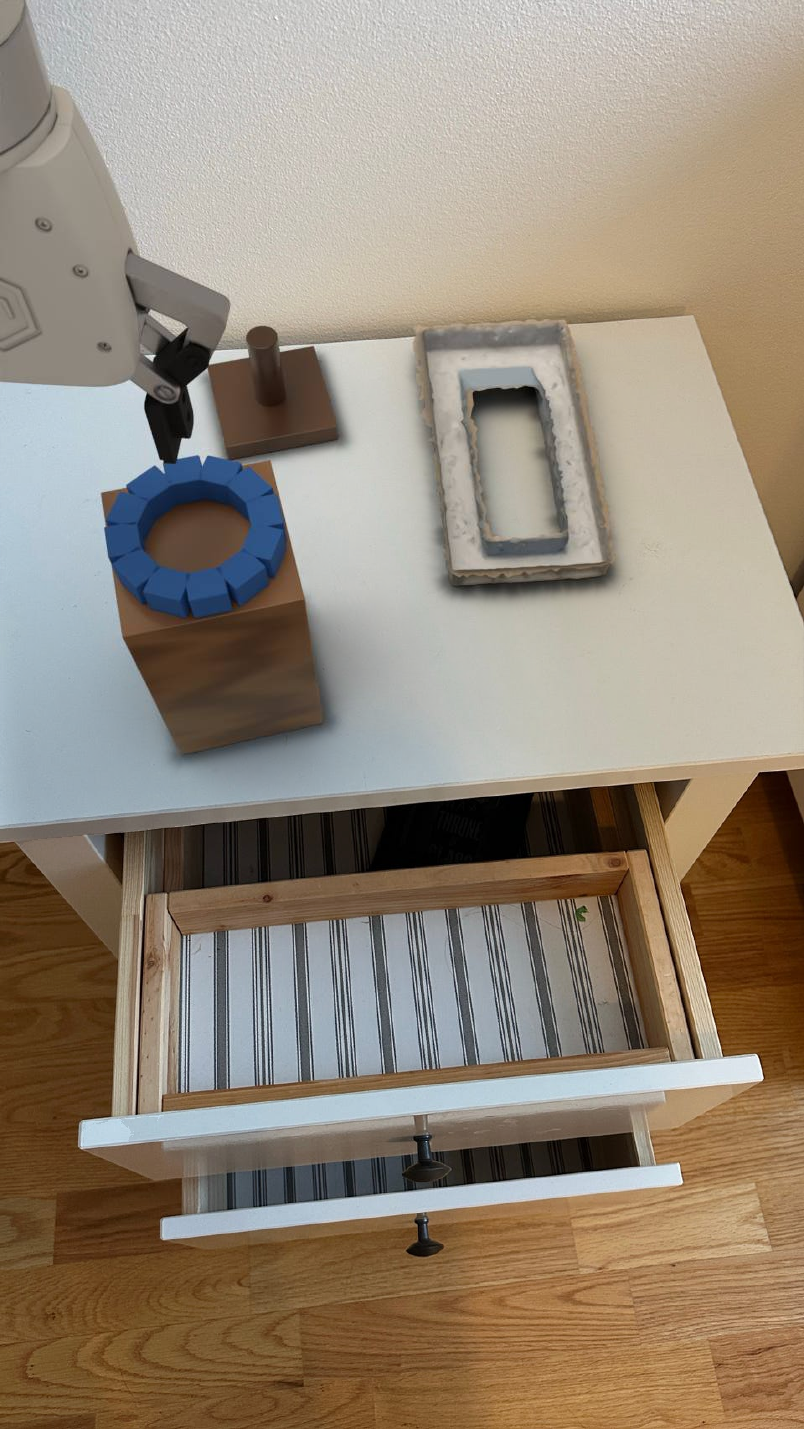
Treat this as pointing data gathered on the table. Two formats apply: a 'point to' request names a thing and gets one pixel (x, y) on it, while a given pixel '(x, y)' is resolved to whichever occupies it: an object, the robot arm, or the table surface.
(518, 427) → the table surface
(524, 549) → the picture frame
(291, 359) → the post
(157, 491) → the ring
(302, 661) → the stand
